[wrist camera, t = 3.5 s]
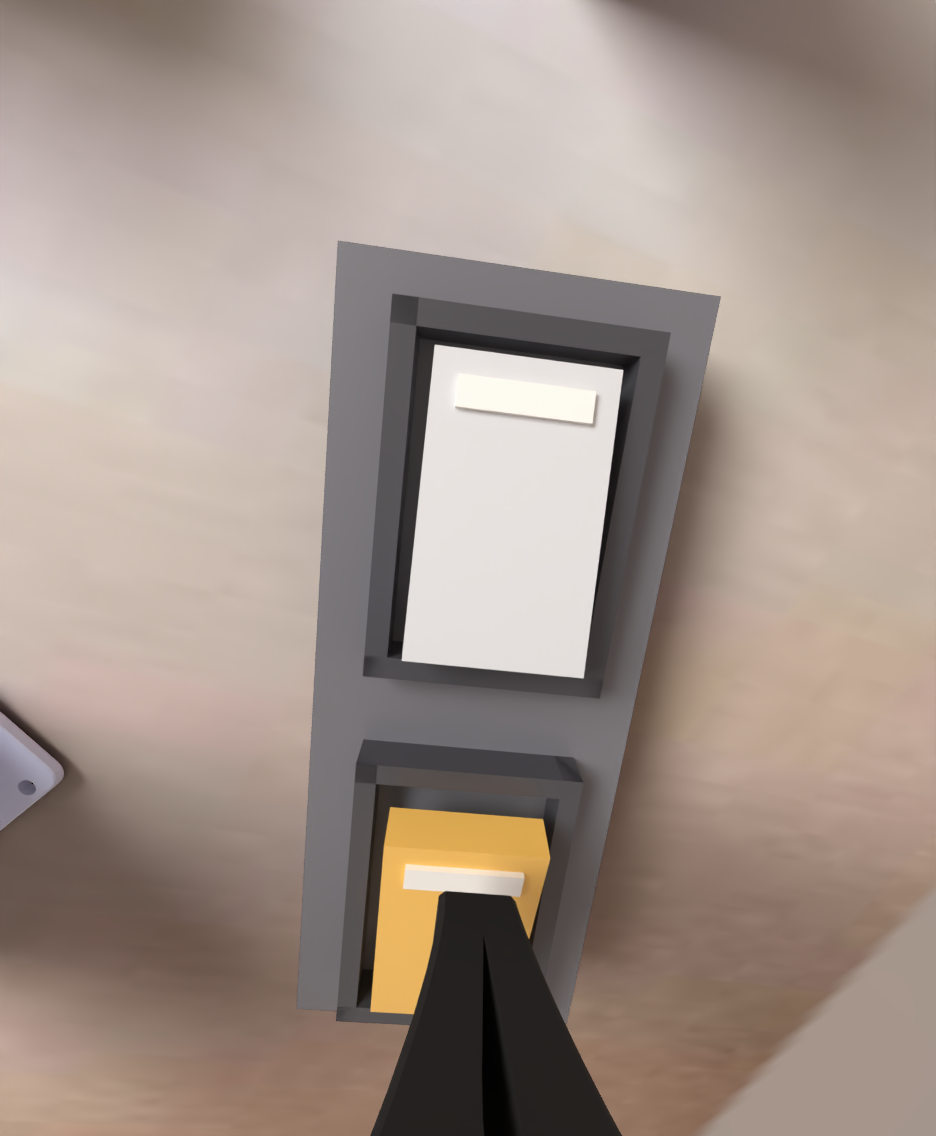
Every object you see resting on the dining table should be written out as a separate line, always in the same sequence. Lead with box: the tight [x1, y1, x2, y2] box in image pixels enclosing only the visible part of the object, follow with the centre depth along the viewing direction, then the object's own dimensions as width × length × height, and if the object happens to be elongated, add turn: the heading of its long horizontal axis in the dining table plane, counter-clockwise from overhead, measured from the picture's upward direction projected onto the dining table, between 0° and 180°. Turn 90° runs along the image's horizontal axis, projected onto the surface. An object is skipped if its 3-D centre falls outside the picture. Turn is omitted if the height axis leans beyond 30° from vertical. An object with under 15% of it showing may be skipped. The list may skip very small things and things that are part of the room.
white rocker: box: [402, 345, 623, 678], centre depth 10 cm, size 6×4×1 cm, turn 173°
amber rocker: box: [370, 807, 550, 1014], centre depth 12 cm, size 6×4×1 cm, turn 173°
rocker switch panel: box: [297, 241, 721, 1025], centre depth 13 cm, size 20×8×4 cm, turn 173°
